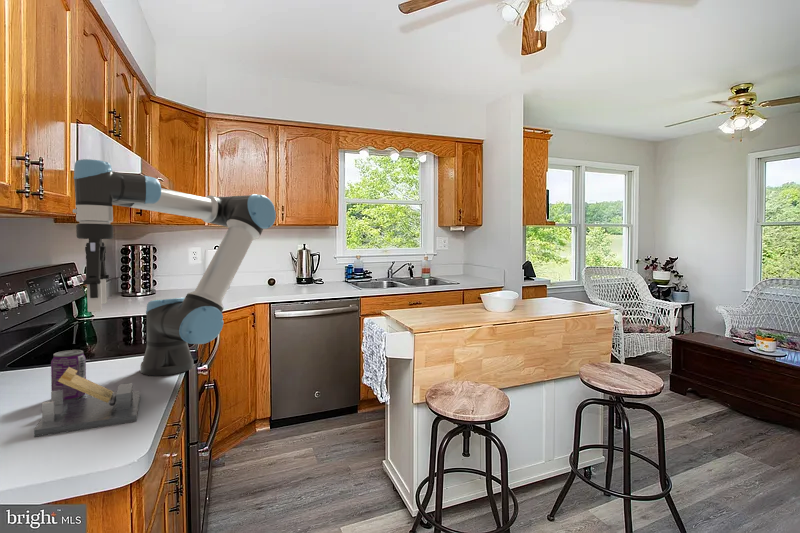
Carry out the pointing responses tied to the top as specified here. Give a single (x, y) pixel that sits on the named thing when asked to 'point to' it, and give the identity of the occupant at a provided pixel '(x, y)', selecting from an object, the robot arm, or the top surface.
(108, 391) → the tan flat panel
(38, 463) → the top surface
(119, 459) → the top surface
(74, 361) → the beverage can
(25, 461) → the top surface
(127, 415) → the clamp base
